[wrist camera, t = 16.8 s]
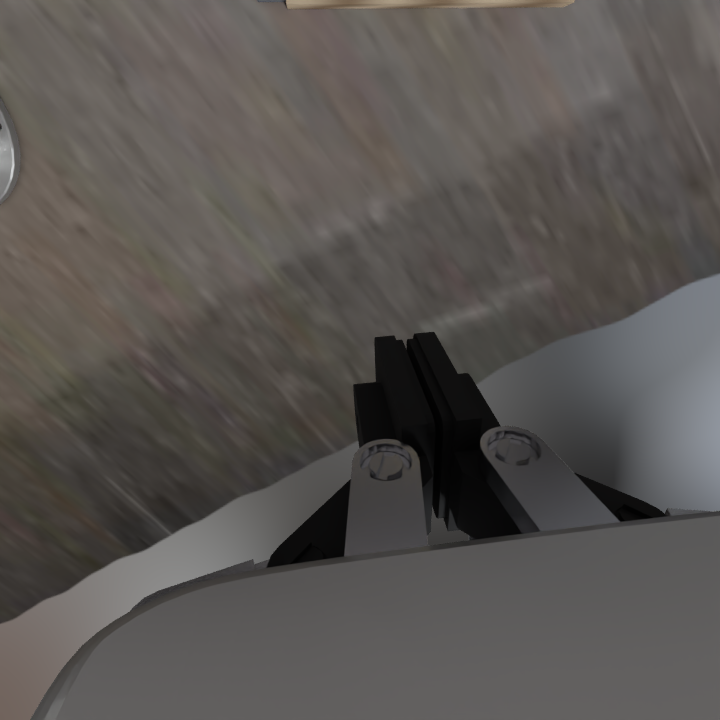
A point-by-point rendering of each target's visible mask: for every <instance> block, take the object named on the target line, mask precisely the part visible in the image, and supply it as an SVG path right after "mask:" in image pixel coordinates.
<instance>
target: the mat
mask: <svg viewBox="0 0 720 720" xmlns="http://www.w3.org/2000/svg"><path fill="white" fill-rule="evenodd" d="M257 1H258V2H286V0H257Z"/></svg>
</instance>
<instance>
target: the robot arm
mask: <svg viewBox="0 0 720 720" xmlns="http://www.w3.org/2000/svg"><path fill="white" fill-rule="evenodd" d="M0 124H1V126H2V127H0V204H1V203H2V202H3V201H4V200H5V199H7V198H8V197H9V195H10V194H11V192H12V190H13V189H14V187H15V185H16V182H17V179H18V176H19V172H20V159H21V154H20V147H19V140H18V136H17V133H16V130H15V127H14V124H13V121H12V119H11V117H10V115H9V113H8V111H7V109H6V107H5V105H4V103H3V101H2V100H1V98H0ZM375 370H376V382H372V383H362V384H354V385H353V388H354V404H355V416H356V426H357V434H358V441H359V449H358V451H357V452H356V453H355V455H354V458H353V461H352V472H351V479H350V480H349V481H348V482H347V483H346V484H345V485H344V486H343V487H342V488H341V489H340V490H338V491H337V492H336V493H335V494H334V495H333V496H332V497H331V498H330V499H329V500H328V501H327V502H326V503H325V504H324V505H322V506H321V507H320V508H319V509H318V510H317V511H316V512H315V513H314V514H313V515H312V516H311V517H310V518H309V519H307V520H306V521H305V522H304V523H303V524H302V525H301V526H300V527H299V528H298V529H297V530H296V531H295V532H294V533H293V534H292V535H290V536H289V537H288V538H287V539H286V540H285V541H284V542H283V543H282V544H281V545H280V546H279V547H278V548H277V549H276V550H275V552H274V553H273V554H272V555H271V557H270V559H269V560H266V561H263V562H260V563H257V564H254V561H253V559H252V560H249V561H246V562H243V563H240V564H237V565H234V566H231V567H228V568H225V569H222V570H219V571H216V572H213V573H210V574H207V575H204V576H201V577H198V578H196V579H192V580H189V581H187V582H183V583H180V584H177V585H174V586H171V587H168V588H165V589H162V590H159V591H157V592H155V593H153V594H151V595H149V596H147V597H145V598H144V599H142V600H141V601H140V602H139V603H138V604H137V605H135V606H134V607H133V608H132V610H131V611H130V612H128V613H127V614H125V615H123V616H122V617H120V618H119V619H117V620H115V621H113V622H112V623H110V624H109V625H108V626H106V627H105V628H103V629H102V630H100V631H99V632H98V633H96V634H95V635H94V636H93V637H92V638H91V639H89V640H88V641H87V642H86V643H85V644H84V645H82V647H81V648H80V649H79V650H78V651H77V652H76V653H75V654H74V656H73V657H72V658H71V659H70V660H69V661H68V662H67V664H66V665H65V666H64V667H63V669H62V670H61V671H60V673H59V674H58V676H57V677H56V679H55V680H54V682H53V683H52V685H51V686H50V688H49V689H48V691H47V692H46V694H45V695H44V697H43V699H42V700H41V702H40V704H39V706H38V707H37V709H36V711H35V713H34V714H33V716H32V718H31V719H30V720H720V511H714V512H712V511H697V510H683V509H670V508H667V510H666V512H665V514H664V513H663V512H662V511H660V510H659V509H658V508H656V507H654V506H652V505H650V504H648V503H646V502H644V501H642V500H639V499H637V498H634V497H632V496H630V495H627V494H625V493H622V492H620V491H617V490H615V489H613V488H610V487H608V486H605V485H603V484H600V483H598V482H596V481H593V480H591V479H588V478H586V477H583V476H581V475H579V474H576V473H573V472H572V470H571V469H570V468H569V467H568V466H567V465H566V464H565V463H564V462H563V461H562V460H561V459H560V458H559V457H558V456H557V455H556V453H555V452H554V451H553V450H552V449H551V448H550V447H549V446H548V445H547V444H546V443H545V442H544V441H543V440H542V439H541V438H540V437H538V436H537V435H536V434H534V433H532V432H530V431H528V430H526V429H522V428H519V427H513V426H512V427H511V426H500V424H499V422H498V421H497V419H496V418H495V416H494V414H493V413H492V411H491V409H490V408H489V406H488V404H487V403H486V401H485V399H484V398H483V396H482V394H481V393H480V391H479V389H478V388H477V386H476V384H475V383H474V381H473V379H472V378H471V376H470V375H469V374H467V373H463V374H458V373H457V372H456V370H455V368H454V366H453V365H452V363H451V361H450V359H449V357H448V356H447V354H446V352H445V350H444V348H443V347H442V345H441V343H440V341H439V339H438V338H437V336H436V334H435V333H434V332H427V333H416V334H414V336H413V339H408V340H407V350H406V348H405V345H404V343H403V341H402V340H396V338H395V336H384V337H375ZM432 506H433V509H434V513H435V515H436V517H437V518H444V521H445V524H446V527H447V530H448V531H454V530H461V531H463V532H465V533H467V534H468V535H469V541H461V542H454V543H445V544H438V545H430V546H428V541H427V535H428V534H429V533H430V531H431V515H432Z"/></svg>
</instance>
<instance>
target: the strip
mask: <svg viewBox="0 0 720 720" xmlns="http://www.w3.org/2000/svg"><path fill="white" fill-rule="evenodd" d="M572 3H574V0H286V5H287V9H375V8H510V7H564V6H567V5H569V4H572Z"/></svg>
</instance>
